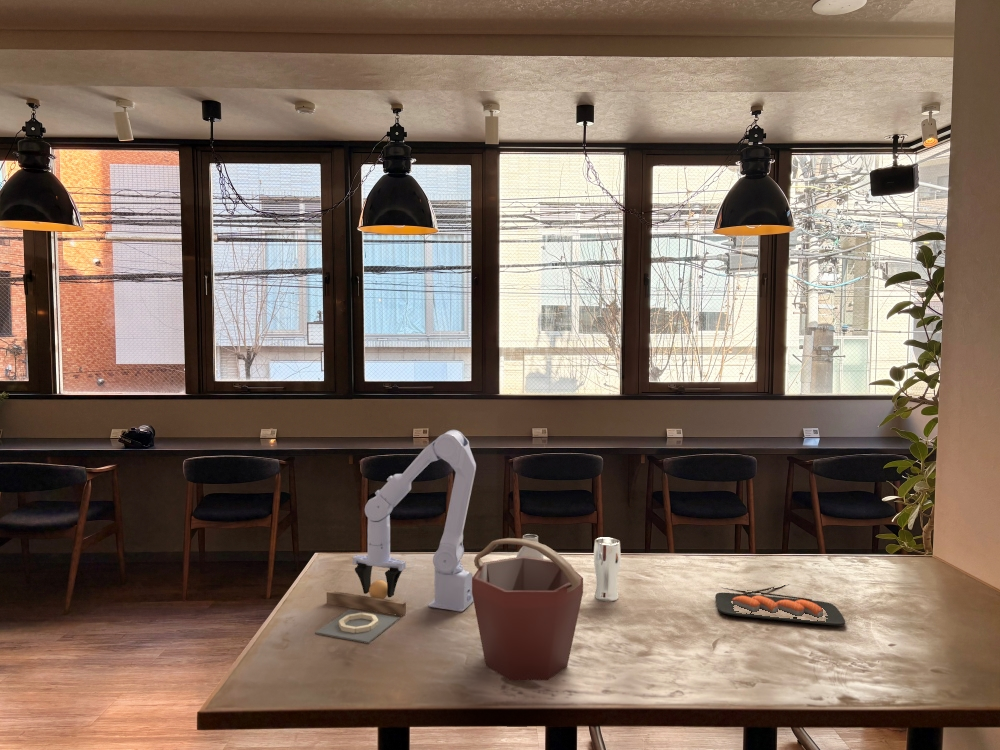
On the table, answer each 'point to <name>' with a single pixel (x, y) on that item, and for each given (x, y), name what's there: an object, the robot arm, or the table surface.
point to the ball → (378, 589)
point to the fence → (366, 603)
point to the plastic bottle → (529, 551)
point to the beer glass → (607, 568)
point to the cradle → (357, 626)
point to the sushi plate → (778, 606)
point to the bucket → (526, 611)
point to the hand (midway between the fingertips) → (378, 594)
